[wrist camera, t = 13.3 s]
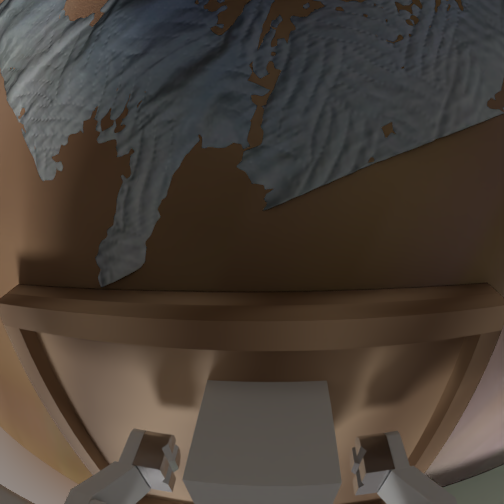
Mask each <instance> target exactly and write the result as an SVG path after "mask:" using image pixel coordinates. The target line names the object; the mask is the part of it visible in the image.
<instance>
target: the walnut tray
mask: <svg viewBox="0 0 504 504" xmlns="http://www.w3.org/2000/svg"><path fill="white" fill-rule="evenodd" d="M0 317H1V320H2V322H3V325H4V327H5V330H6V332H7V334H8V337H9V339H10V341H11V343H12V345H13V348H14V350H15V352H16V354H17V356H18V358H19V360H20V362H21V364H22V366H23V368H24V370H25V372H26V374H27V376H28V378H29V380H30V382H31V384H32V385H33V387H34V389H35V391H36V393H37V394H38V396H39V398H40V400H41V401H42V403H43V405H44V406H45V408H46V410H47V411H48V413H49V414H50V416H51V418H52V419H53V421H54V422H55V424H56V425H57V427H58V428H59V430H60V431H61V433H62V434H63V436H64V437H65V439H66V440H67V442H68V443H69V445H70V446H71V447H72V449H73V450H74V451H75V453H76V454H77V455H78V457H79V458H80V459H81V461H82V462H83V463H84V465H85V466H86V467H87V469H88V470H89V471H90V472H91V474H92V475H95V474H96V473H98V472H99V471H101V470H102V469H104V468H105V467H107V466H108V465H110V464H111V463H113V462H114V461H117V462H118V461H119V459H120V456H121V454H122V452H123V449H124V447H125V444H126V442H127V440H128V437H129V435H130V432H131V431H132V430H133V429H134V428H135V429H141V430H147V431H152V432H158V433H164V434H171V435H174V436H175V438H176V442H175V444H176V445H177V446H179V449H180V454H181V459H180V465H179V469H178V470H176V471H175V472H174V475H175V477H176V481H175V485H174V489H173V492H167V491H161V490H155V489H151V490H150V491H149V492H148V493H147V494H146V495H145V496H144V497H143V498H141V499H140V500H139V501H138V502H137V503H136V504H194V502H193V500H192V498H191V496H190V494H189V492H188V490H187V488H186V486H185V484H184V482H183V480H182V479H183V475H184V470H185V466H186V462H187V458H188V454H189V450H190V446H191V442H192V438H193V434H194V430H195V426H196V422H197V418H198V414H199V410H200V406H201V402H202V398H203V395H204V391H205V387H206V383H207V380H214V381H238V382H303V381H327V384H328V391H329V397H330V403H331V409H332V416H333V422H334V429H335V436H336V443H337V450H338V457H339V465H340V473H341V481H342V483H341V486H340V488H339V490H338V493H337V495H336V497H335V499H334V502H333V504H386V503H385V502H384V501H383V499H382V498H381V497H380V496H379V495H378V494H377V493H371V494H364V495H355V494H354V488H353V479H354V476H355V474H354V473H353V472H351V468H350V453H351V450H352V448H353V447H355V443H354V441H355V439H356V437H357V436H364V435H371V434H378V433H386V432H392V431H398V432H399V433H400V436H401V439H402V442H403V445H404V448H405V452H406V455H407V458H408V462H409V465H410V466H415V467H416V468H417V469H419V470H420V471H421V472H422V473H425V472H426V470H427V469H428V468H429V466H430V465H431V463H432V462H433V460H434V459H435V458H436V456H437V455H438V453H439V452H440V450H441V449H442V447H443V446H444V444H445V443H446V441H447V439H448V438H449V436H450V435H451V433H452V431H453V430H454V428H455V426H456V425H457V423H458V421H459V420H460V418H461V416H462V414H463V412H464V411H465V409H466V407H467V405H468V403H469V401H470V400H471V398H472V396H473V394H474V392H475V390H476V388H477V386H478V384H479V382H480V380H481V378H482V376H483V373H484V371H485V369H486V367H487V365H488V362H489V360H490V358H491V355H492V353H493V351H494V348H495V346H496V343H497V341H498V338H499V336H500V333H501V330H502V328H503V325H504V298H503V297H502V296H501V295H500V294H499V293H498V292H497V291H496V290H495V289H494V288H492V287H491V286H490V285H489V284H488V283H478V284H465V285H450V286H434V287H416V288H397V289H373V290H344V291H303V292H179V291H138V290H109V289H86V288H67V287H49V286H33V285H19V284H18V285H17V286H16V287H14V288H13V289H12V290H10V291H9V292H8V293H7V294H5V295H4V296H3V297H2V298H0Z"/></svg>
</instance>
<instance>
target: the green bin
mask: <svg viewBox="0 0 504 504" xmlns="http://www.w3.org/2000/svg"><path fill="white" fill-rule="evenodd" d="M442 488H443V489H445V490H446V491H447V492H449V493H450V494H451V495H453V496H454V497H455V498H456V501H457V504H504V465H501V466H499V467H497V468H494V469H492V470H490V471H487V472H485V473H482V474H480V475H477V476H474V477H472V478H469V479H466V480H463V481H461V482H458V483H455V484H452V485H448V486H445V487H442Z"/></svg>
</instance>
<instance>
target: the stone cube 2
mask: <svg viewBox="0 0 504 504" xmlns="http://www.w3.org/2000/svg"><path fill="white" fill-rule="evenodd" d="M182 480H183V482H184V484H185V486H186V488H187V490H188V492H189V494H190V496H191V498H192V500H193V502H194V504H333V502H334V499H335V497H336V495H337V493H338V490H339V488H340V486H341V483H342V481H341V473H340V465H339V457H338V450H337V443H336V436H335V429H334V422H333V416H332V409H331V403H330V397H329V391H328V384H327V381H303V382H238V381H214V380H207V383H206V387H205V391H204V395H203V398H202V402H201V406H200V410H199V414H198V418H197V422H196V426H195V430H194V434H193V438H192V442H191V446H190V450H189V454H188V458H187V462H186V466H185V470H184V475H183V479H182Z"/></svg>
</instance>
